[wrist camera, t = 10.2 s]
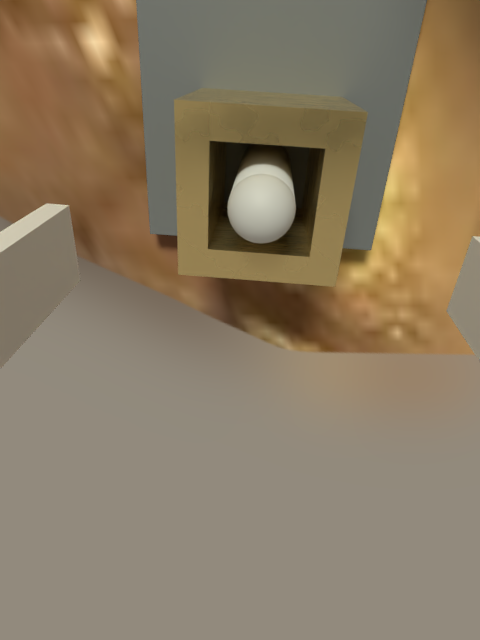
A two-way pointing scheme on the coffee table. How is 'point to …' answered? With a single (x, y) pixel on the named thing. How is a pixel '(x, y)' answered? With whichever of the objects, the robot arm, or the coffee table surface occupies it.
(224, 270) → the collar
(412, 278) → the coffee table surface
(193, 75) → the post plate
